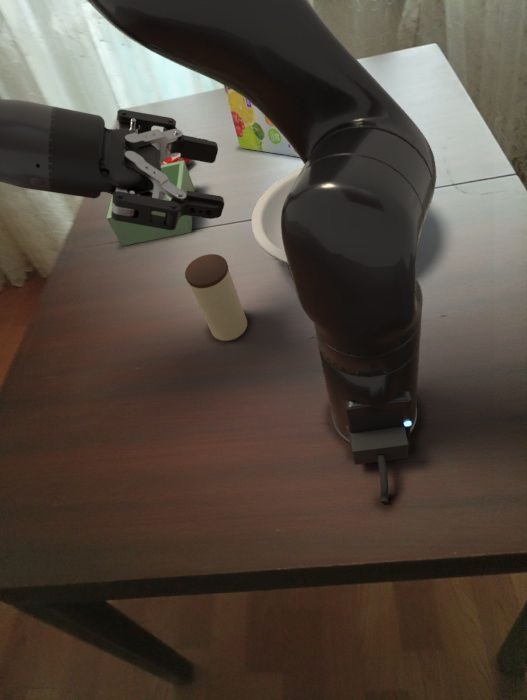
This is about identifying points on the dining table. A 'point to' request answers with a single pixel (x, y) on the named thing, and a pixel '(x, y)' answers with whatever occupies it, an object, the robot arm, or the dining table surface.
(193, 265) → the canister
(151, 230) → the bin
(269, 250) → the soup bowl
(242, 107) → the snack box
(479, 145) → the dining table surface
